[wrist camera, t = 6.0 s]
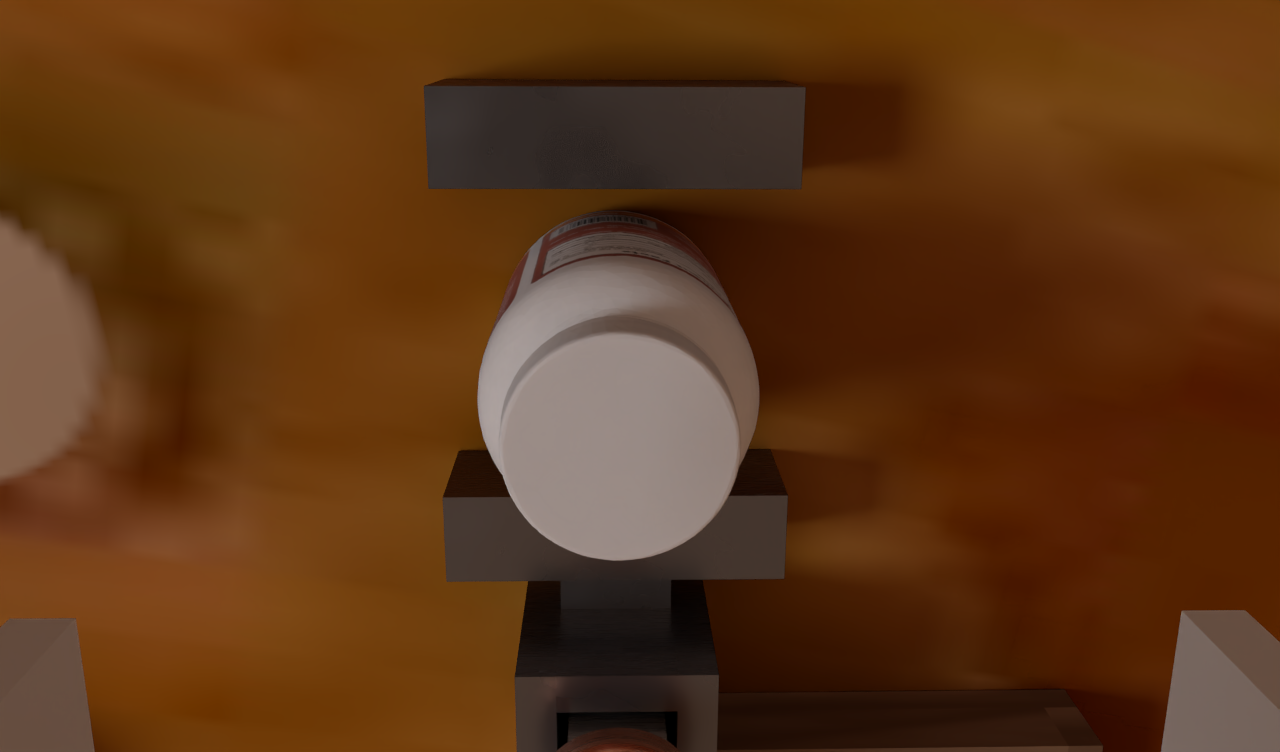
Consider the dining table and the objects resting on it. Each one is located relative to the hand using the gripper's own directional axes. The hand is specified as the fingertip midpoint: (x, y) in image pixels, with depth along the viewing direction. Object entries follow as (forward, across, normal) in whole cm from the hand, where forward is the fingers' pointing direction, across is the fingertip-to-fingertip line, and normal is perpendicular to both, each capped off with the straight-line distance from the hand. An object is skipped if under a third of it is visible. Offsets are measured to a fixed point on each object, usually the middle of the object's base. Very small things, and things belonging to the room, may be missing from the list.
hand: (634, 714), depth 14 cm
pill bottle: (+20, 0, 0) cm, 20 cm away
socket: (+20, 0, -3) cm, 20 cm away
